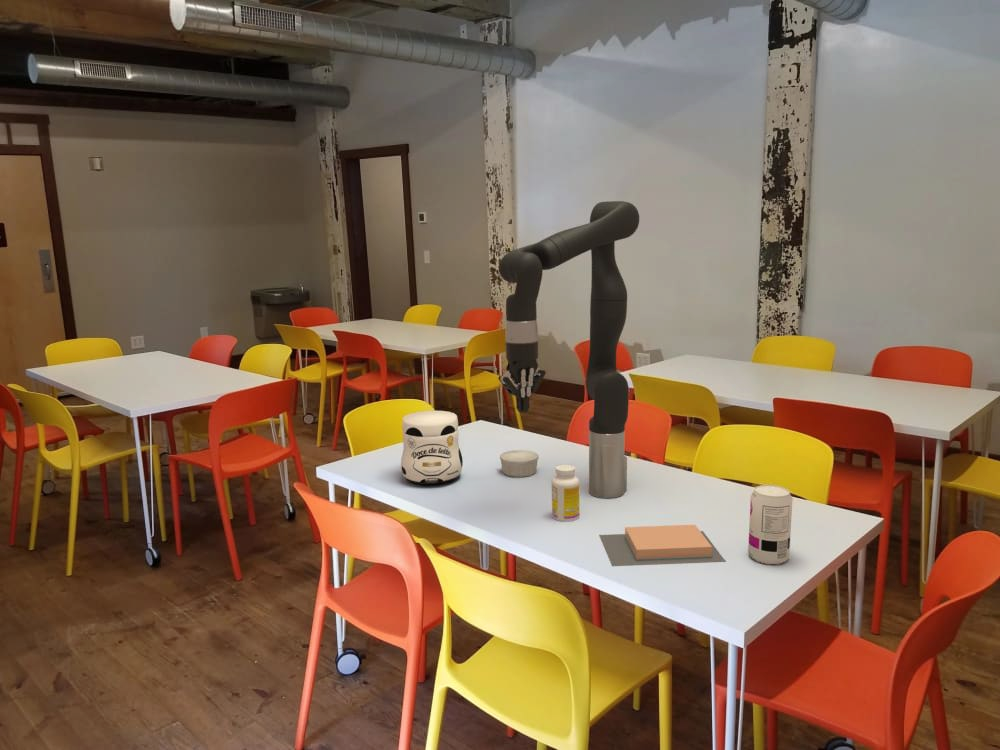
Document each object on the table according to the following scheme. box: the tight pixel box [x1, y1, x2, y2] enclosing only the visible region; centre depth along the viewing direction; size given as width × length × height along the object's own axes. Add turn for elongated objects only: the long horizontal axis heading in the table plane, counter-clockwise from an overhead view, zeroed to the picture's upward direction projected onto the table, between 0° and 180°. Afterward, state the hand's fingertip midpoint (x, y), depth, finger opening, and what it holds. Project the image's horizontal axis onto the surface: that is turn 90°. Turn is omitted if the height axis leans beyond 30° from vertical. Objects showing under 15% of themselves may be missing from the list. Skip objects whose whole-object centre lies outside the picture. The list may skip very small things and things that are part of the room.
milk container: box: [400, 410, 463, 485], centre depth 215 cm, size 17×17×18 cm
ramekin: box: [499, 449, 540, 478], centre depth 220 cm, size 11×11×5 cm
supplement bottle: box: [551, 464, 580, 523], centre depth 185 cm, size 7×7×13 cm
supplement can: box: [747, 484, 793, 565], centre depth 161 cm, size 8×8×15 cm
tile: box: [624, 524, 712, 561], centre depth 167 cm, size 2×12×16 cm
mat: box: [598, 530, 727, 567], centre depth 168 cm, size 24×16×1 cm, turn 92°
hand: (523, 411), depth 181 cm, fingers closed
